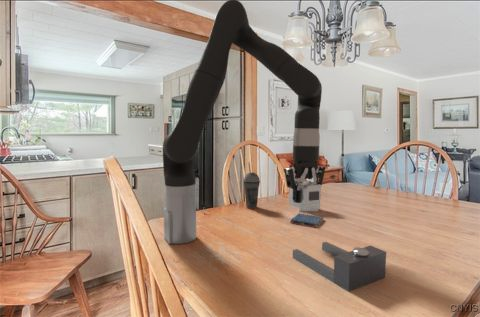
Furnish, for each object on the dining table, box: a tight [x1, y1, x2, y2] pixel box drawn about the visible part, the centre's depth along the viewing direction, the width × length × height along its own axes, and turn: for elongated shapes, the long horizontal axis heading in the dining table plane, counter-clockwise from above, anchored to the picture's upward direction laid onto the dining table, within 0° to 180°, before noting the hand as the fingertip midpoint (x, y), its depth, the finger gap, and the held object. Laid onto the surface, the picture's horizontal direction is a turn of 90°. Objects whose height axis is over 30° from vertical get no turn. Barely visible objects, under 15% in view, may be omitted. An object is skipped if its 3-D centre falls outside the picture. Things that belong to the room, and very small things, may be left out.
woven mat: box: [289, 212, 325, 228], centre depth 103 cm, size 10×11×2 cm
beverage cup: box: [243, 162, 261, 210], centre depth 122 cm, size 7×7×20 cm
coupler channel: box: [292, 241, 387, 292], centre depth 68 cm, size 12×18×7 cm, turn 28°
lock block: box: [288, 180, 322, 212], centre depth 82 cm, size 5×8×7 cm, turn 28°
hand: (304, 201), depth 82 cm, fingers closed on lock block, 5 cm apart
